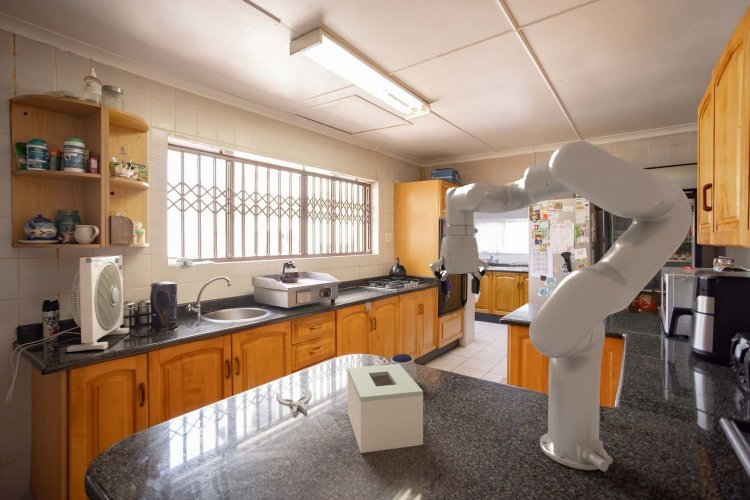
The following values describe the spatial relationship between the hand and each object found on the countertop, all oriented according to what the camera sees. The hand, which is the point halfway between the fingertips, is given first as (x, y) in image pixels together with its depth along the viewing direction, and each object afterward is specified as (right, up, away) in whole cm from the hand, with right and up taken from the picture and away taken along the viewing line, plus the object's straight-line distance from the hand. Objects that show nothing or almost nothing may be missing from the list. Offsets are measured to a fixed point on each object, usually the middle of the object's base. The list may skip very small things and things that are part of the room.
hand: (459, 294), depth 100 cm
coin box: (-22, -31, -13) cm, 40 cm away
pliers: (-45, -31, 0) cm, 55 cm away
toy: (-20, -30, +11) cm, 38 cm away
